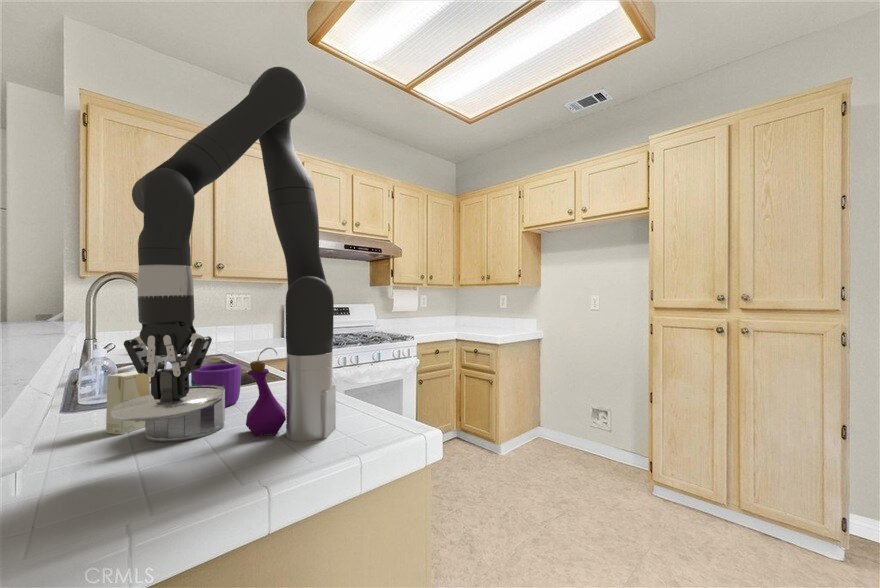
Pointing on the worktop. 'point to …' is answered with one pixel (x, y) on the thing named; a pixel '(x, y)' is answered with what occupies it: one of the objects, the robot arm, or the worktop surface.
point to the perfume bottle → (264, 404)
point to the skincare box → (125, 398)
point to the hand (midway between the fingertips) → (170, 397)
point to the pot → (189, 423)
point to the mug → (220, 379)
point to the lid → (166, 402)
